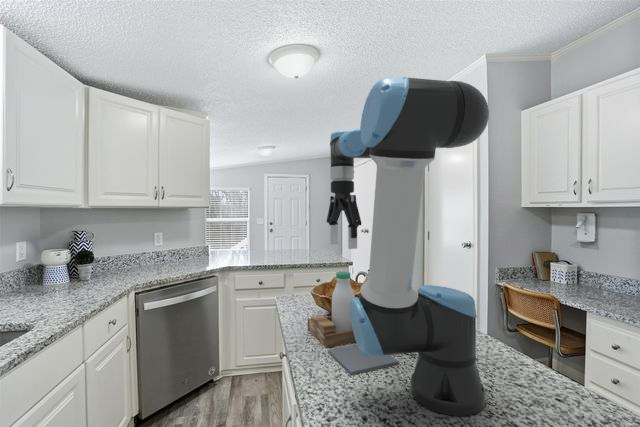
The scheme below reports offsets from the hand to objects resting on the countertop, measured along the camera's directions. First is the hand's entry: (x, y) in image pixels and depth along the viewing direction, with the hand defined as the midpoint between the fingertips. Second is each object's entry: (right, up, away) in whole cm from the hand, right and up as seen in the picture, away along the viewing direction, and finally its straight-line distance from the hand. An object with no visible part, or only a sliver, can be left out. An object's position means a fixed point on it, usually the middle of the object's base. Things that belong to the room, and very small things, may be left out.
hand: (342, 246), depth 108 cm
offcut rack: (-1, -29, 0) cm, 29 cm away
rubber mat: (+4, -29, -17) cm, 34 cm away
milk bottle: (0, -29, +1) cm, 29 cm away
